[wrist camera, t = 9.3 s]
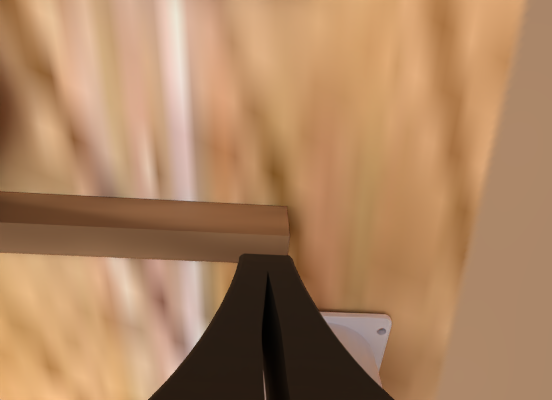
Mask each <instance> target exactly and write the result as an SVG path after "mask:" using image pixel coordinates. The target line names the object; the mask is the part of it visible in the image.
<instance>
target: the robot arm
mask: <svg viewBox="0 0 552 400" xmlns="http://www.w3.org/2000/svg"><path fill="white" fill-rule="evenodd" d="M391 326H392V321H391V318H390V317H389V316H388V315H386V314H369V313H341V312H319V310H318V308H317V307H316V305H315V303H314V302H313V300H312V298H311V297H310V295H309V293H308V291H307V290H306V288H305V286H304V284H303V282H302V280H301V278H300V276H299V274H298V272H297V270H296V267H295V265H294V262H293V259H292V258H291V257H290V256H289V255H269V254H246V253H244V254H242V255H241V256H239V262H238V266H237V269H236V272H235V275H234V278H233V280H232V283H231V285H230V287H229V289H228V291H227V293H226V295H225V297H224V300H223V302H222V304H221V305H220V307H219V309H218V311H217V312H216V314H215V316H214V317H213V319H212V321H211V323H210V324H209V326H208V328H207V329H206V331H205V332H204V334H203V335H202V337H201V338H200V340H199V341H198V342H197V344H196V345H195V347H194V348H193V349H192V351H191V352H190V353H189V355H188V356H187V357H186V358H185V360H184V361H183V362H182V363H181V364H180V366H179V367H178V368H177V369H176V371H175V372H174V373H173V374H172V375H171V376H170V378H169V379H168V380H167V381H166V382H165V383H164V384H163V385H162V386H161V387H160V388H159V389H158V390H157V391H156V392H155V393H154V394H153V395H152V396H151V397H150V398H149V399H148V400H394V399H393V398H392V397H391V396H390V395H389V394H388V393H387V392H386V391H385V390H384V389H383V387H382V383H381V379H380V376H379V370H380V366H381V362H382V359H383V355H384V352H385V348H386V344H387V341H388V337H389V333H390V330H391ZM381 328H383V329H382V330H378V329H381Z"/></svg>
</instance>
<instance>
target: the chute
mask: <svg viewBox="0 0 552 400" xmlns="http://www.w3.org/2000/svg"><path fill="white" fill-rule="evenodd" d="M289 240H290V232H289V222H288V213H287V206H267V205H248V204H228V203H209V202H189V201H170V200H151V199H131V198H112V197H92V196H73V195H53V194H34V193H14V192H0V253H22V254H45V255H68V256H92V257H115V258H139V259H162V260H185V261H209V262H232V263H238V262H239V256H241V255H242V254H244V253H246V254H269V255H288V248H289Z"/></svg>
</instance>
